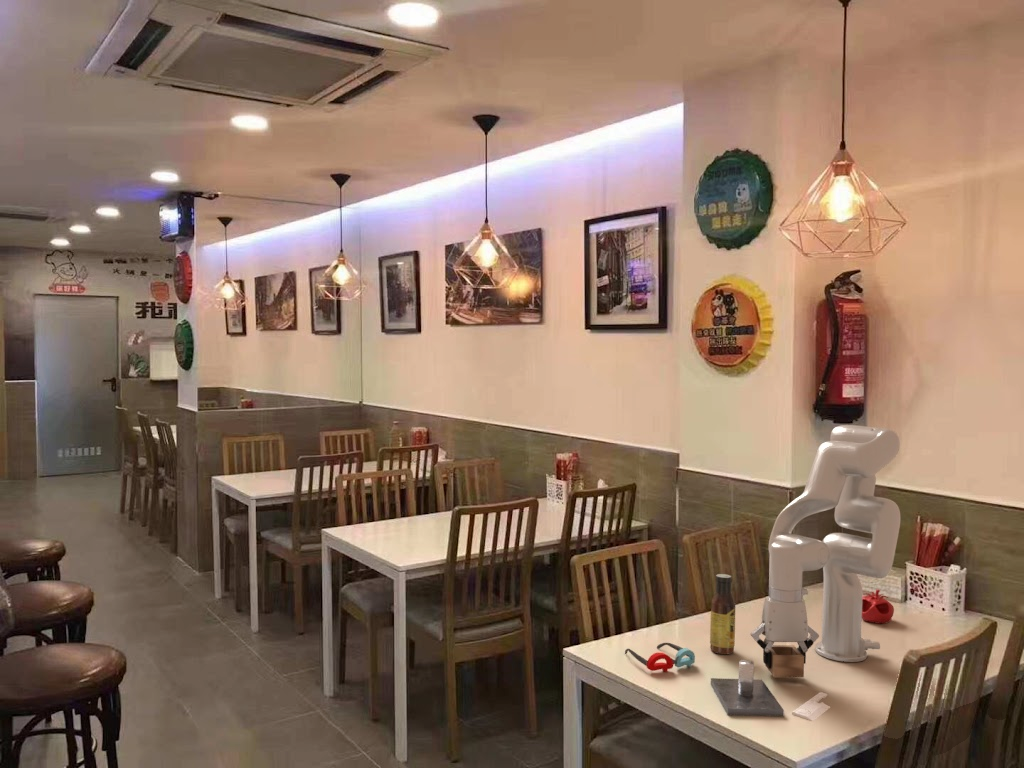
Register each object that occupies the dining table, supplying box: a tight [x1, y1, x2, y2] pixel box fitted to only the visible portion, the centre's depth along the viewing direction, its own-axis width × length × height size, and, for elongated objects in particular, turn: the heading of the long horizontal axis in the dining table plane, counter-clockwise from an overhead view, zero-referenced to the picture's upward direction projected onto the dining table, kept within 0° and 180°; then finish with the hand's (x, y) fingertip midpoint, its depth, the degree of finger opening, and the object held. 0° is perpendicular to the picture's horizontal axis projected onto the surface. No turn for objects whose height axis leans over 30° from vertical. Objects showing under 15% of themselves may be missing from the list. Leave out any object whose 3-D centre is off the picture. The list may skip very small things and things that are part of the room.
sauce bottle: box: [709, 573, 736, 655], centre depth 212 cm, size 7×6×20 cm
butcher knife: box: [791, 691, 831, 722], centre depth 179 cm, size 5×15×1 cm, turn 136°
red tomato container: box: [862, 589, 895, 624], centre depth 239 cm, size 10×10×9 cm
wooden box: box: [764, 644, 805, 678], centre depth 194 cm, size 7×7×5 cm
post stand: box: [710, 659, 785, 718], centre depth 182 cm, size 12×16×8 cm
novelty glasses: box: [624, 642, 696, 673], centre depth 204 cm, size 14×15×5 cm
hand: (784, 665), depth 194 cm, fingers closed on wooden box, 7 cm apart
